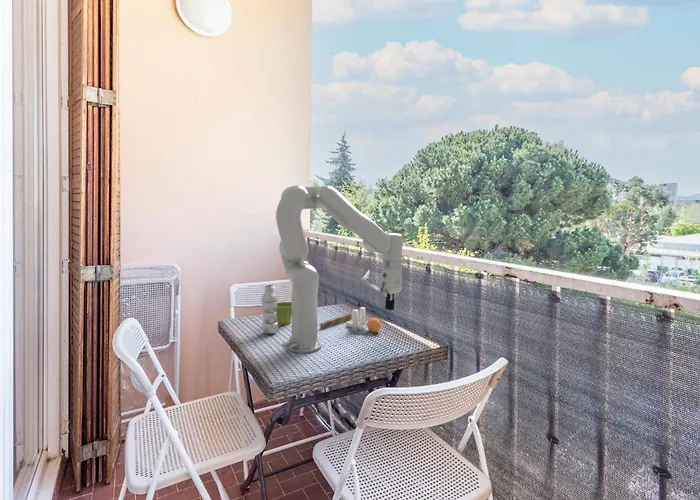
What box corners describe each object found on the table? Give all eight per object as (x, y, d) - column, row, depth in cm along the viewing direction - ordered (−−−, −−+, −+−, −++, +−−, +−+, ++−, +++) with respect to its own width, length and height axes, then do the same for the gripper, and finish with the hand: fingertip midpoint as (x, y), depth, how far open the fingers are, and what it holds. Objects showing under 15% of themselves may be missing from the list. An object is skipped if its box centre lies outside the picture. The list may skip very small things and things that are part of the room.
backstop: (322, 329, 166) (323, 323, 166) (320, 328, 167) (320, 323, 167) (351, 319, 182) (351, 313, 182) (348, 318, 183) (348, 313, 183)
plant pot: (283, 327, 168) (283, 308, 167) (268, 323, 173) (268, 304, 172) (298, 322, 175) (298, 304, 174) (284, 319, 181) (284, 300, 180)
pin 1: (355, 332, 163) (355, 311, 162) (351, 331, 165) (351, 310, 164) (358, 330, 165) (359, 310, 164) (354, 329, 167) (354, 309, 166)
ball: (362, 322, 164) (367, 335, 162) (371, 316, 161) (376, 329, 159) (371, 320, 169) (377, 333, 166) (380, 314, 165) (386, 327, 163)
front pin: (362, 325, 164) (346, 321, 170) (361, 331, 164) (345, 326, 170) (365, 325, 166) (349, 320, 172) (365, 330, 166) (349, 326, 172)
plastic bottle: (274, 336, 157) (274, 288, 154) (259, 335, 158) (258, 287, 156) (280, 331, 163) (280, 284, 161) (265, 330, 164) (265, 284, 162)
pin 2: (362, 329, 167) (363, 308, 166) (358, 328, 169) (358, 307, 168) (365, 327, 169) (366, 307, 168) (361, 326, 171) (361, 306, 170)
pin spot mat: (365, 337, 157) (365, 336, 157) (342, 330, 165) (342, 330, 165) (381, 329, 167) (381, 329, 167) (359, 324, 174) (359, 323, 174)
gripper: (389, 267, 146) (387, 314, 148) (409, 263, 157) (407, 307, 159) (373, 264, 150) (371, 311, 152) (393, 261, 162) (391, 304, 164)
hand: (389, 309), depth 156 cm, fingers closed
